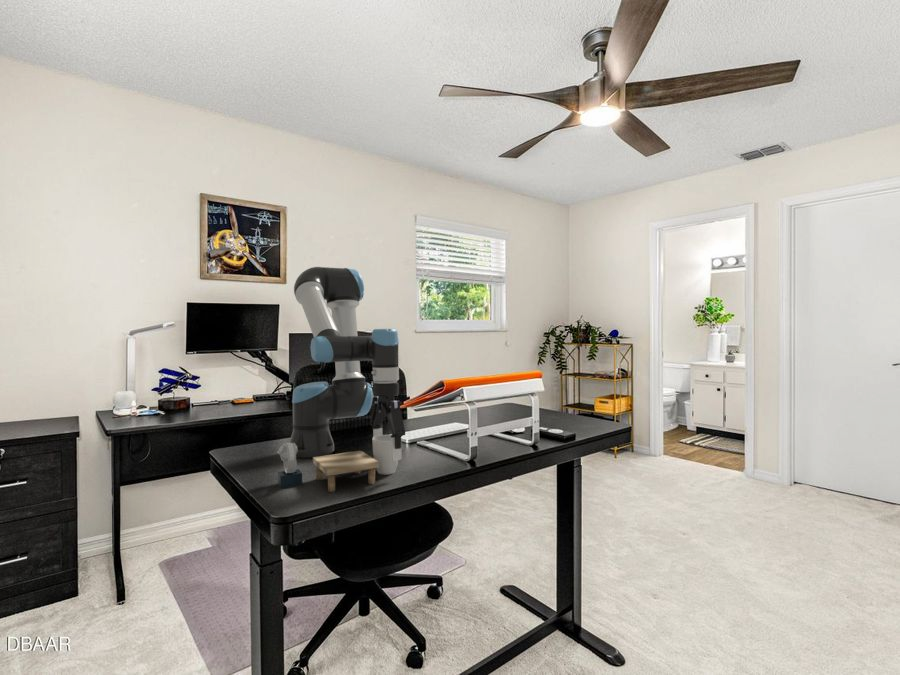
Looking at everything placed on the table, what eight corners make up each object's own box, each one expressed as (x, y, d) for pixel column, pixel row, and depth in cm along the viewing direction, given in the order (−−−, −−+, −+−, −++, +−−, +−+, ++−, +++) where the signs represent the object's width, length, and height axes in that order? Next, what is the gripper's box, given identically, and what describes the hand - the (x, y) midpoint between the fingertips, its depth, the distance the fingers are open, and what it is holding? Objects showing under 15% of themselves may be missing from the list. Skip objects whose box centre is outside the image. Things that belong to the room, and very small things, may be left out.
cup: (387, 466, 145) (386, 433, 145) (406, 471, 140) (406, 437, 140) (366, 472, 139) (366, 438, 139) (385, 478, 134) (385, 442, 134)
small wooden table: (313, 478, 134) (312, 457, 133) (360, 470, 141) (360, 450, 141) (327, 493, 122) (327, 470, 121) (379, 484, 129) (378, 461, 129)
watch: (297, 478, 134) (297, 439, 134) (303, 486, 127) (302, 445, 127) (276, 481, 131) (276, 441, 131) (281, 490, 124) (280, 447, 124)
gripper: (358, 379, 148) (359, 448, 148) (391, 386, 126) (392, 466, 126) (381, 378, 152) (382, 445, 152) (416, 384, 130) (417, 462, 130)
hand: (387, 455), depth 139 cm, fingers open, 13 cm apart
